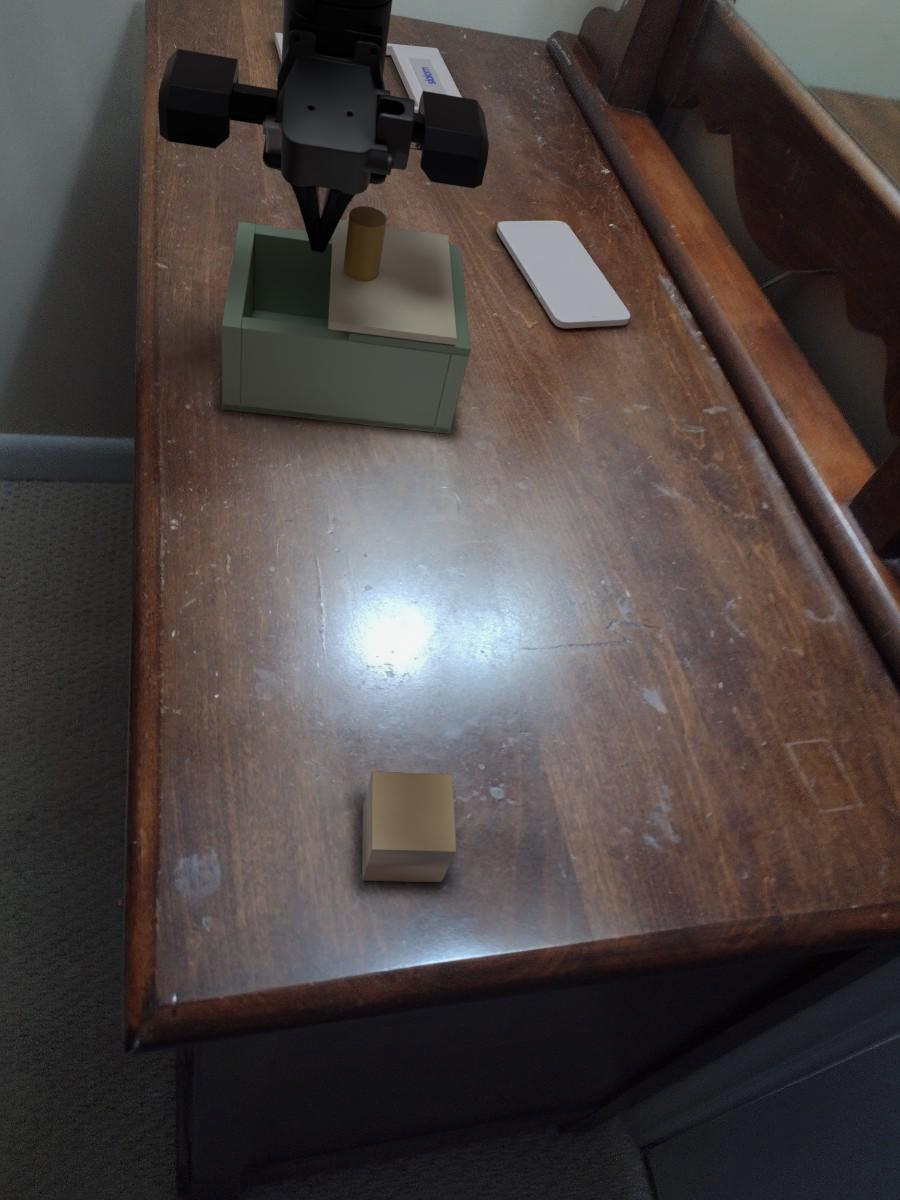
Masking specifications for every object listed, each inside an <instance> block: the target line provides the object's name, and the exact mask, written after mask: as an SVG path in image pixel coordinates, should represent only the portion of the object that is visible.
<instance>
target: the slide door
mask: <svg viewBox="0 0 900 1200" xmlns="http://www.w3.org/2000/svg"><path fill="white" fill-rule="evenodd" d="M449 245H450V241H449V235H448V234H442V233H436V232H428V231H422V230H416V229H409V228H401V227H395V226H388V225H387V216H386V214H385V213H384V212H382V211H381V210H379V209H377V208H375V207H372V206H368V205H367V206H365V205H361V206H356V207H353V208H352V209H350V211H349V214H348V219H342V218H341V219H340V221H339V223H338V225H337V227H336V229H335V231H334V233H333V241H332V260H331V280H330V299H329V318H328V329H332V330H340V331H348V332H355V333H363V334H371V335H379V336H387V337H395V338H403V339H411V340H419V341H426V342H434V343H442V344H450V345H455V344H456V340H457V334H456V322H455V311H454V299H453V287H452V275H451V263H450V251H449Z"/></svg>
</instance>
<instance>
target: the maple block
mask: <svg viewBox="0 0 900 1200" xmlns="http://www.w3.org/2000/svg"><path fill="white" fill-rule="evenodd" d="M454 793H455V792H454V777H453V774H452V773H451V774H449V773H427V772H425V773H424V772H401V771H377V770H373V771H371V775H370V778H369V782H368V786H367V789H366V792H365V796H364V801H363V804H362V848H361V849H362V860H361V861H362V864H361V871H362V872H361V881H363V882H365V881H367V882H410V883H412V882H415V883H442V882H443V880H444V878H445V876H446V874H447V872H448V870H449V868H450V866H451V864H452V861H453V859H454V858H455V856H456V853H457V851H458V850H457V833H456V832H457V831H456V816H455V815H456V813H455V796H454Z"/></svg>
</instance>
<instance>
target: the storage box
mask: <svg viewBox="0 0 900 1200" xmlns="http://www.w3.org/2000/svg"><path fill="white" fill-rule="evenodd" d="M332 241H333V235H332V237H331V239H330V241H329V243H328V245H327V247H326V249H325V251H324V253H321V252H313V251H312V249H311V246H310V242H309V239H308V235H307V232H306V230H300V229H293V228H286V227H279V226H274V225H267V224H265V225H264V224H261V223H260V224H258V223H252V222H247V221H238V224H237V230H236V236H235V242H234V249H233V253H232V259H231V260H232V261H231V266H230V273H229V279H228V285H227V291H226V296H225V301H224V302H225V304H224V308H223V315H222V321H221V403H222V404H221V406H222V407H221V408H222V410H225V411H235V412H244V413H245V412H246V413H254V414H262V415H263V414H264V415H272V416H284V417H290V418H291V417H292V418H300V419H310V420H318V421H327V422H337V423H347V424H353V425H354V424H355V425H362V426H363V425H365V426H374V427H383V428H391V429H392V428H393V429H401V430H411V431H419V432H429V433H437V434H448V435H449V434H450V433H451V430H452V429H451V428H452V426H453V425H452V424H453V421H454V416H455V414H456V413H455V412H456V409H457V406H458V402H459V401H458V400H459V397H460V393H461V389H462V385H463V381H464V377H465V374H466V369H467V365H468V361H469V356H470V353H471V349H472V348H471V337H470V327H469V317H468V306H467V296H466V286H465V276H464V265H463V255H462V247H461V245H456V244H449V251H450V263H451V275H452V287H453V299H454V311H455V322H456V334H457V340H456V344H455V345H450V344H442V343H434V342H426V341H419V340H411V339H403V338H395V337H387V336H379V335H371V334H363V333H355V332H348V331H340V330H332V329H328V318H329V299H330V280H331V260H332Z"/></svg>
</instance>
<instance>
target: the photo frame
mask: <svg viewBox="0 0 900 1200" xmlns="http://www.w3.org/2000/svg"><path fill="white" fill-rule="evenodd" d="M282 39H283V32H274V44H275V47H276V50H277V54H278V57H279V61H280V64H281V63H282ZM386 56H390V57H391V59H392V61H393V63H394V66H395V68H396V71H397V72H398V75H399V77H400V79H401V81H402V84H403V86H404V88H405V91H406V93H407V95H408V97H409V99H413V100H414V101H415V109H414V113H418V109H419V102H420V98H421V95H422V92H423V91H427V92H433V93H439V94H445V95H450V96H456V97H462V95H461V93H460V91H459V89H458V87H457V85H456V83H455V81H454V79H453V77H452V75H451V72H450V70H449V69H448V67H447V65H446V63H445V61H444V58H443V57H442V55H441V53H440V51H439V49H438V47H429V46H419V45H407V44H398V43H390V42H389V43H388V42H387V49H386Z"/></svg>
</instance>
